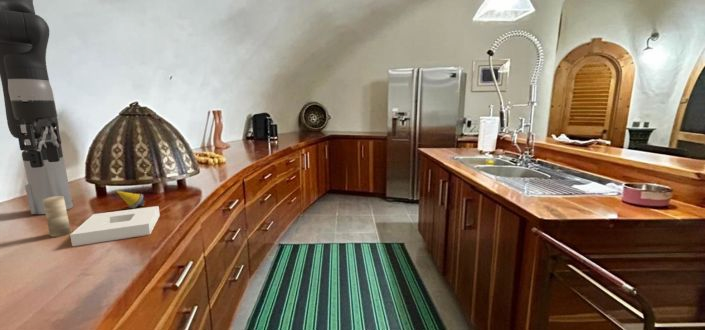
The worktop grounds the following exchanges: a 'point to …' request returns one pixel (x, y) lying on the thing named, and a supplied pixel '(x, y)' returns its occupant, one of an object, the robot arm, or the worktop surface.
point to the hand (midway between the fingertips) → (46, 164)
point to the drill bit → (132, 199)
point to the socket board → (116, 226)
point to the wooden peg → (56, 216)
